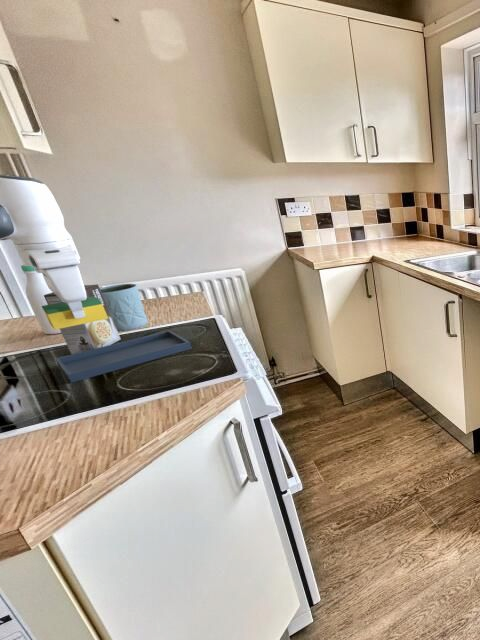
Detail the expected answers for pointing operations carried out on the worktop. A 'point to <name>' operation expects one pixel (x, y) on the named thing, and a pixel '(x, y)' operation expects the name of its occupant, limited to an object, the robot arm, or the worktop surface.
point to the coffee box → (88, 326)
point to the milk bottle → (38, 297)
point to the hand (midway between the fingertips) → (76, 314)
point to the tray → (121, 355)
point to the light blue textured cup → (124, 306)
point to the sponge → (63, 316)
